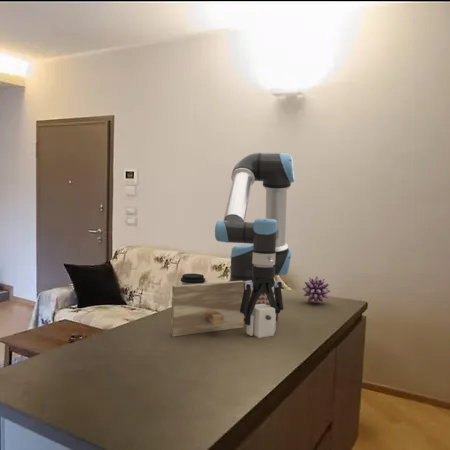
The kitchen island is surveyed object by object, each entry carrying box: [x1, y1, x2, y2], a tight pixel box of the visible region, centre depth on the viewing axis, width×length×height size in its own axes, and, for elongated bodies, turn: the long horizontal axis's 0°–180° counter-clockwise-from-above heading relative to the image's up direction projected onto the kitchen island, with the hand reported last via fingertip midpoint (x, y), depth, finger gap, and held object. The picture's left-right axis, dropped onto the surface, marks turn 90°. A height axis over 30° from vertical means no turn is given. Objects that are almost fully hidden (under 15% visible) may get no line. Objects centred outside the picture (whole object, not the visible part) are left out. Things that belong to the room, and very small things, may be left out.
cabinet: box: [251, 304, 275, 339], centre depth 151 cm, size 8×6×9 cm
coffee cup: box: [180, 273, 206, 285], centre depth 171 cm, size 9×9×15 cm
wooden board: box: [170, 281, 245, 337], centre depth 150 cm, size 8×26×16 cm, turn 118°
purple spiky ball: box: [301, 275, 331, 304], centre depth 196 cm, size 12×12×12 cm
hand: (260, 332), depth 152 cm, fingers open, 8 cm apart
